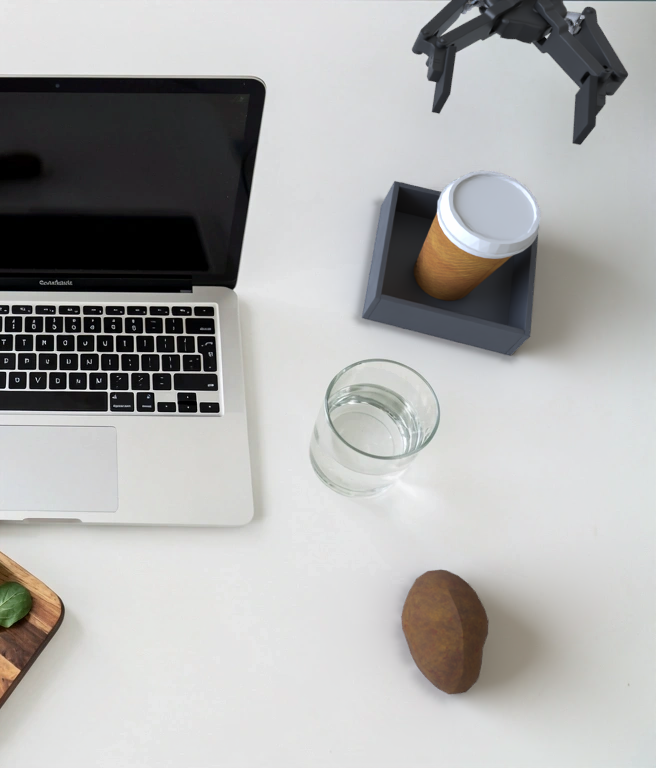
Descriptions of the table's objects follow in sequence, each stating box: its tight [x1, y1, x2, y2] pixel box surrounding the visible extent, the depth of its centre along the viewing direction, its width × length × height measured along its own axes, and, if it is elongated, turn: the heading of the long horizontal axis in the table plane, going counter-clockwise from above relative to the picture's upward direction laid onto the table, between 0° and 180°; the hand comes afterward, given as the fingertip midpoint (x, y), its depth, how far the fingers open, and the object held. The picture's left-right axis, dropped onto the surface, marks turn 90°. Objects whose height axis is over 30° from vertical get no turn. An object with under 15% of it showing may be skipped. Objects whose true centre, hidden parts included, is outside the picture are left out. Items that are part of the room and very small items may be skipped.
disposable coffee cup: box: [414, 170, 541, 301], centre depth 90 cm, size 10×10×12 cm
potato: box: [400, 569, 489, 695], centre depth 77 cm, size 7×10×7 cm
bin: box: [361, 180, 539, 357], centre depth 94 cm, size 15×15×5 cm
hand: (511, 119), depth 87 cm, fingers open, 13 cm apart
